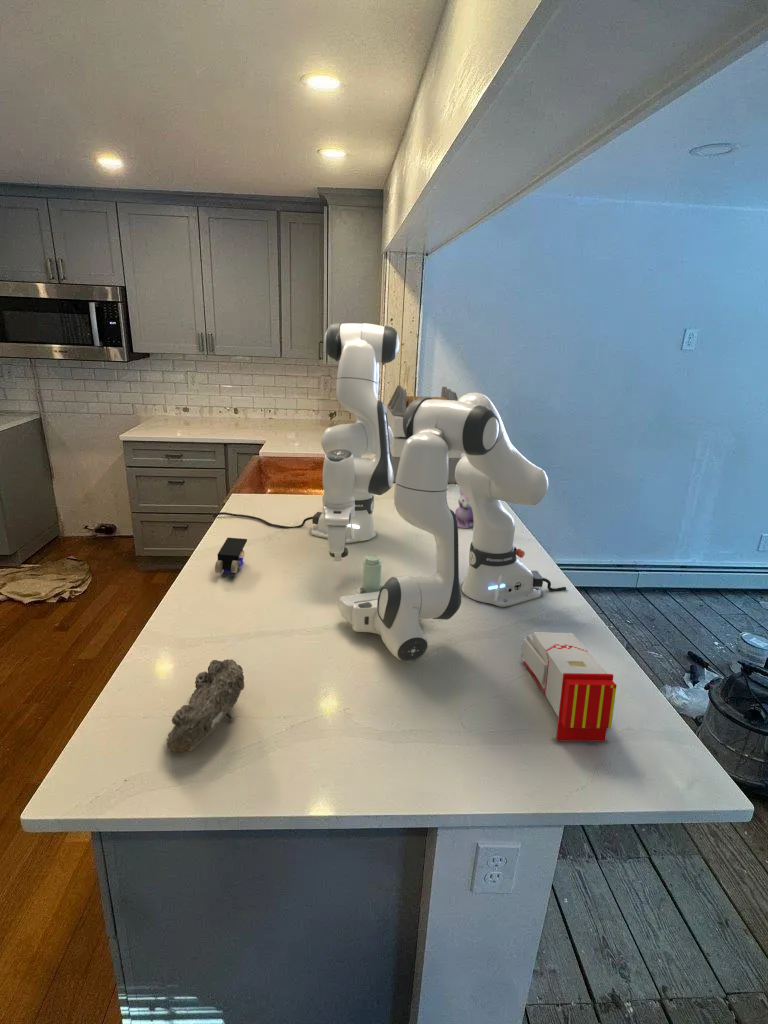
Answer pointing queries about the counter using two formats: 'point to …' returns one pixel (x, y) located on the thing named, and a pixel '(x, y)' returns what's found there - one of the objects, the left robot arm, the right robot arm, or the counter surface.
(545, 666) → the toy
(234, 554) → the figurine character
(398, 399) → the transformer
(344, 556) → the lid
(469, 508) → the figurine
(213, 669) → the fossil
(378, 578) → the jar
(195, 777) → the counter surface
